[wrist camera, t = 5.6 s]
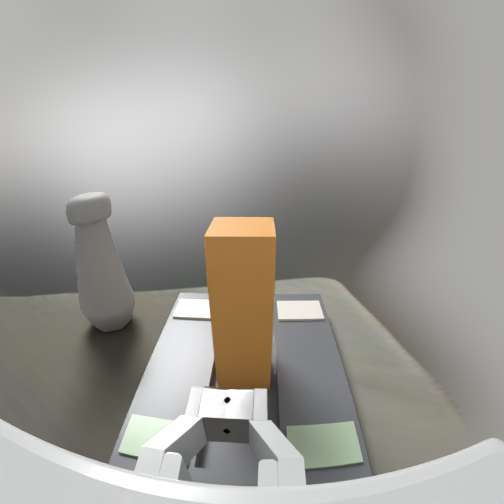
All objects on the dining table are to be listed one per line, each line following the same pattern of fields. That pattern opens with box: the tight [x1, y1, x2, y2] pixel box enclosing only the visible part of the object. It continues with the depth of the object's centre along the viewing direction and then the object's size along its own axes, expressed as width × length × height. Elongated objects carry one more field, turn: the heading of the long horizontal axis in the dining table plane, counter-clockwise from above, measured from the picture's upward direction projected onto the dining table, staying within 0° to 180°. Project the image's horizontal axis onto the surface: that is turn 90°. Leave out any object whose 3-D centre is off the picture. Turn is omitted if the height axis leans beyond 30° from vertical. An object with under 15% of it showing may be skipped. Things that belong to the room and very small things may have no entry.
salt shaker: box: [66, 192, 135, 332], centre depth 25 cm, size 6×6×13 cm
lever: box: [204, 217, 276, 392], centre depth 18 cm, size 4×4×11 cm
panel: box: [109, 293, 372, 486], centre depth 20 cm, size 14×20×2 cm
